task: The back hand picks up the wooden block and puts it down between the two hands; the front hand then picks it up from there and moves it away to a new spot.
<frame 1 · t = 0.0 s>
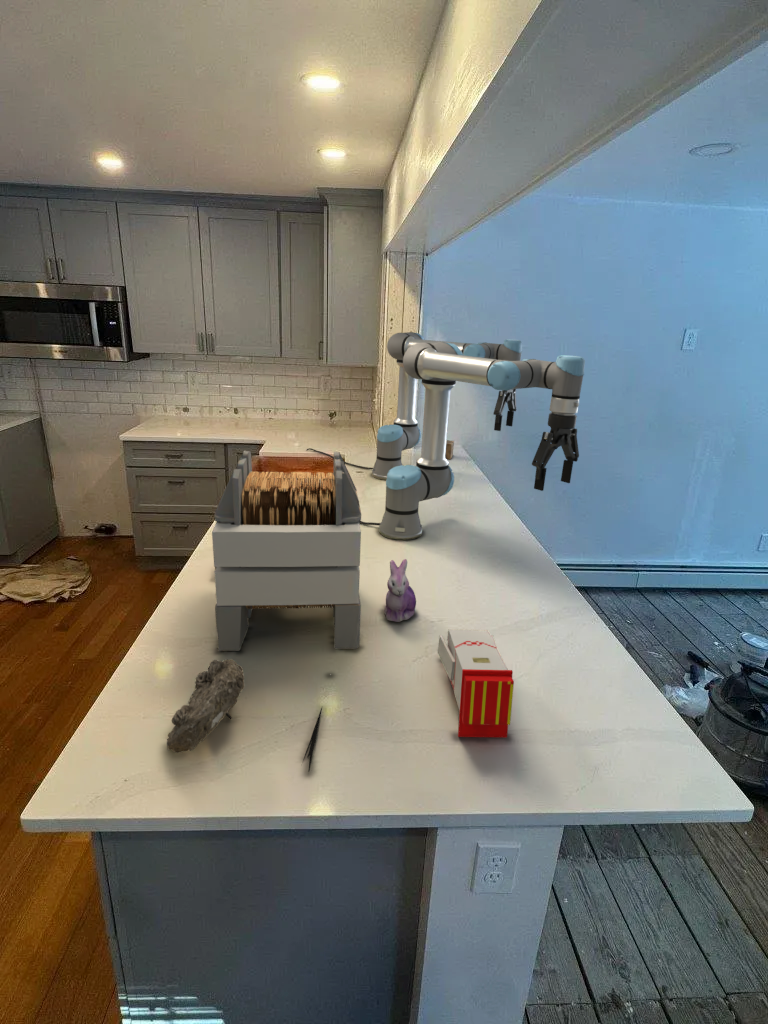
front hand: (552, 485, 166), 28 cm above the counter, tool pointing down, fingers open, 13 cm apart
back hand: (503, 428, 245), 28 cm above the counter, tool pointing down, fingers open, 13 cm apart
figurine character: (232, 569, 168), on the counter
toy: (469, 691, 119), on the counter
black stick: (319, 719, 109), on the counter
figurine: (399, 614, 147), on the counter
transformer: (292, 614, 145), on the counter
block: (444, 457, 308), on the counter
fossil: (212, 717, 108), on the counter
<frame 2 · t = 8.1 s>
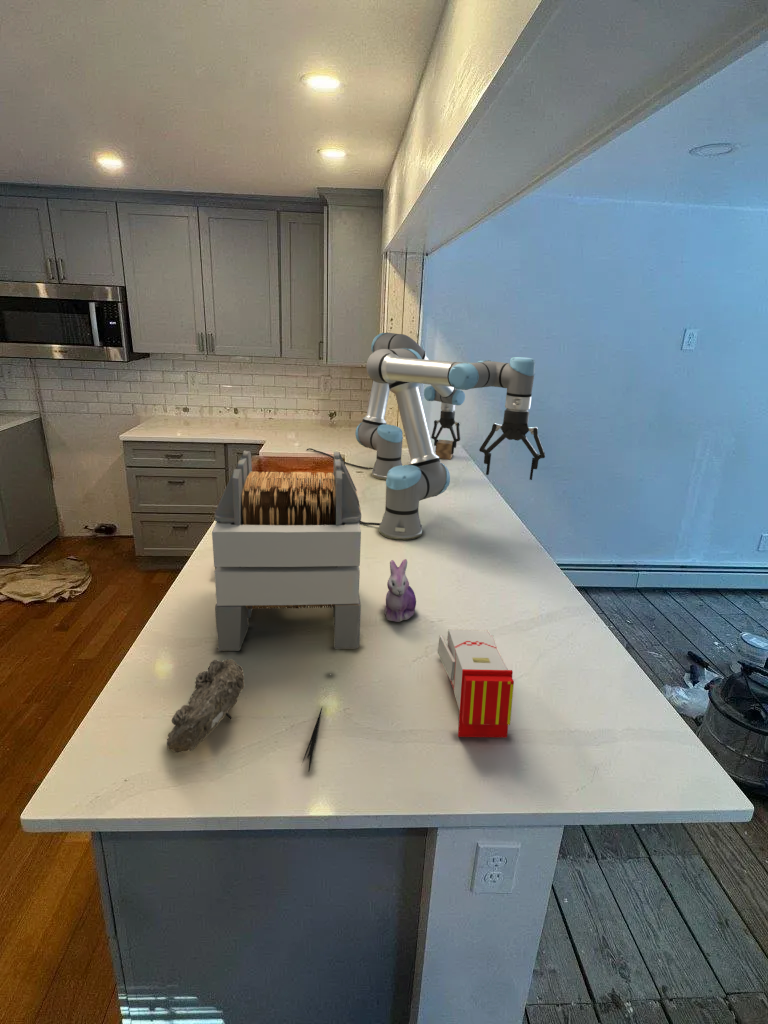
front hand: (509, 476, 181), 26 cm above the counter, tool pointing down, fingers open, 13 cm apart
back hand: (444, 452, 307), 2 cm above the counter, tool pointing down, fingers closed on block, 8 cm apart
block: (444, 457, 308), on the counter, touching back hand
everything else where it was.
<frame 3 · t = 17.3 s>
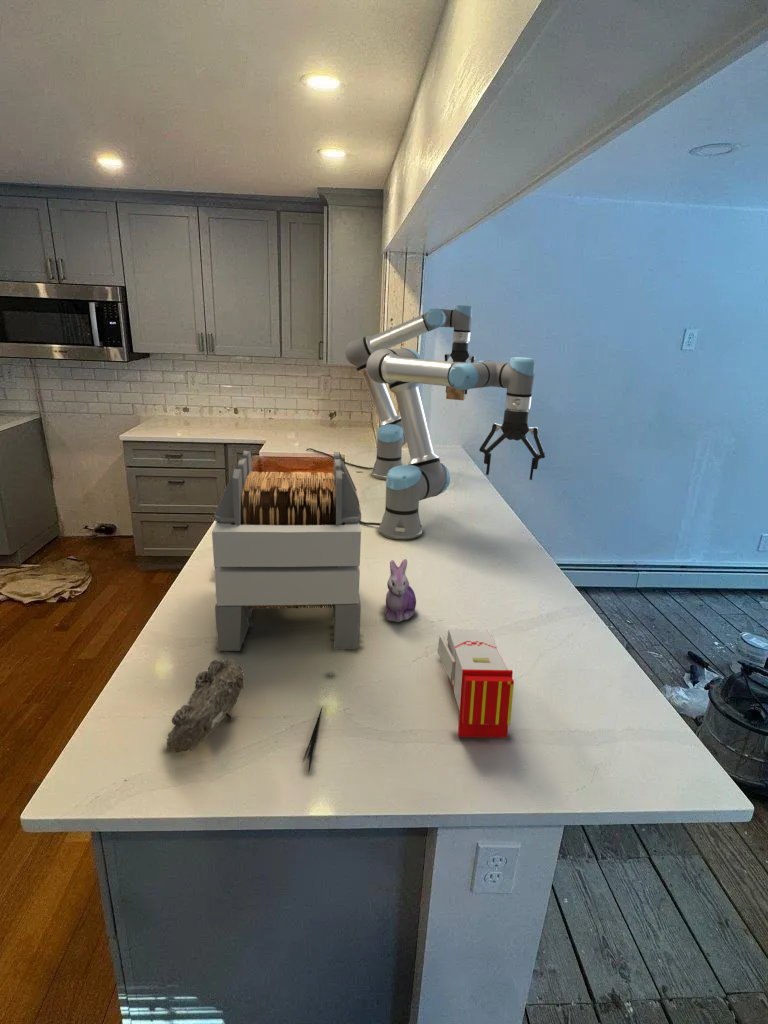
front hand: (509, 476, 181), 26 cm above the counter, tool pointing down, fingers open, 13 cm apart
back hand: (456, 393, 262), 39 cm above the counter, tool pointing down, fingers closed on block, 8 cm apart
block: (455, 398, 263), point 37 cm above the counter, touching back hand
everything else where it was.
when the back hand's fingers open (4 cm above the counter, at t = 26.8 s): block drops 2 cm, on the counter.
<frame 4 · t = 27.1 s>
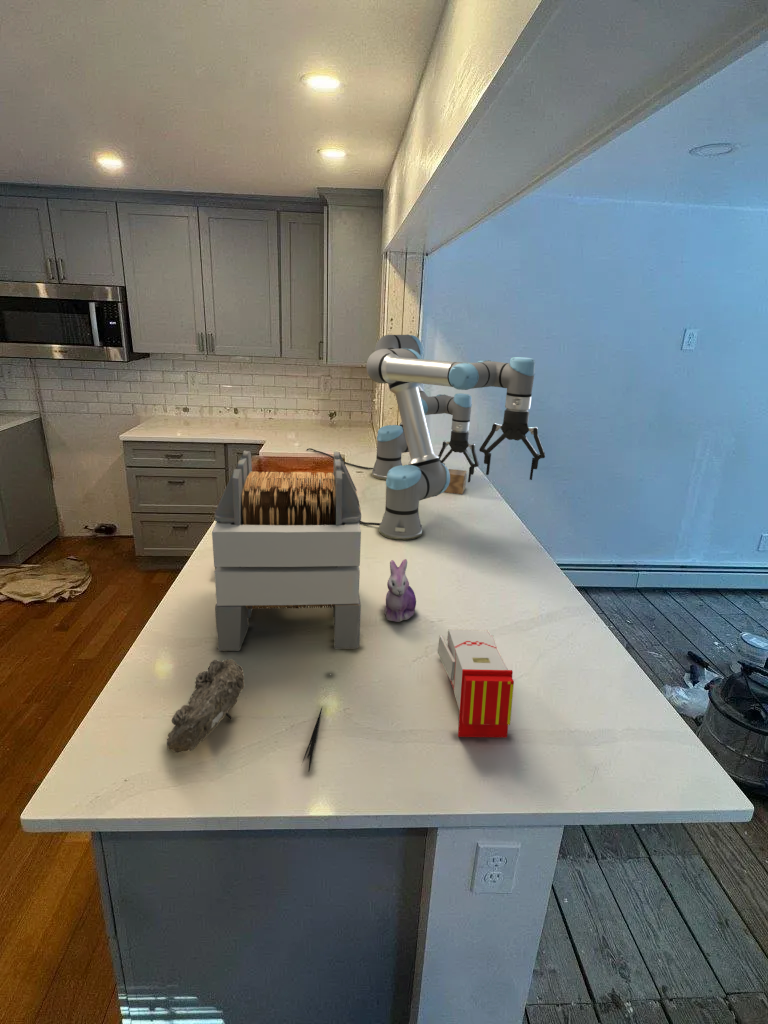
front hand: (509, 476, 181), 26 cm above the counter, tool pointing down, fingers open, 13 cm apart
back hand: (455, 480, 249), 5 cm above the counter, tool pointing down, fingers open, 11 cm apart
block: (454, 490, 251), on the counter
everything else where it was.
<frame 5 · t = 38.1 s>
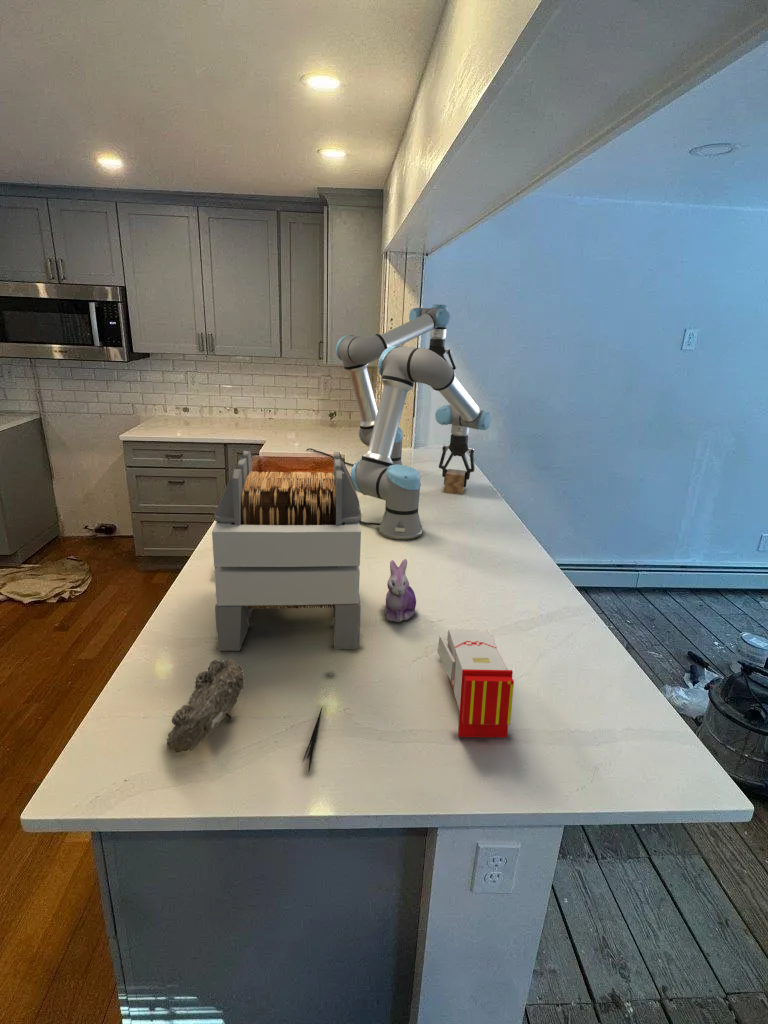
front hand: (455, 485, 250), 2 cm above the counter, tool pointing down, fingers closed on block, 8 cm apart
back hand: (434, 383, 281), 41 cm above the counter, tool pointing down, fingers open, 13 cm apart
block: (454, 490, 251), on the counter, touching front hand
everything else where it was.
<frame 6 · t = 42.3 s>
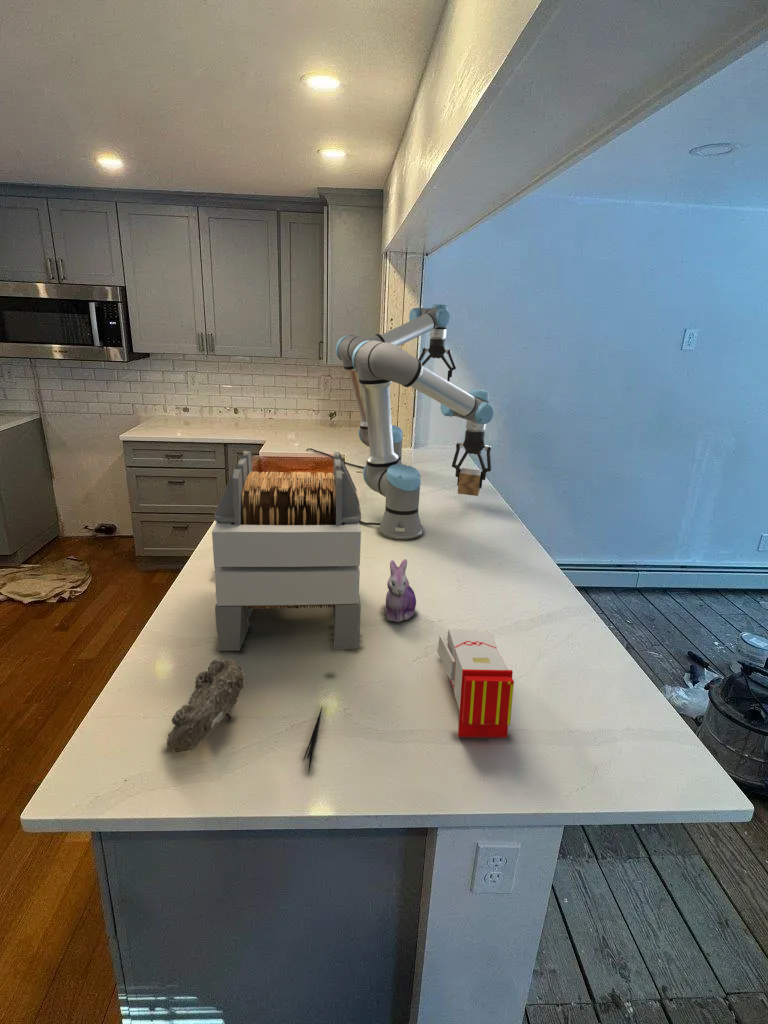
front hand: (469, 486, 227), 9 cm above the counter, tool pointing down, fingers closed on block, 8 cm apart
back hand: (434, 383, 281), 41 cm above the counter, tool pointing down, fingers open, 13 cm apart
block: (468, 491, 228), point 7 cm above the counter, touching front hand
everything else where it was.
when the front hand's fingers open (4 cm above the counter, at t = 46.7 s): block drops 2 cm, on the counter.
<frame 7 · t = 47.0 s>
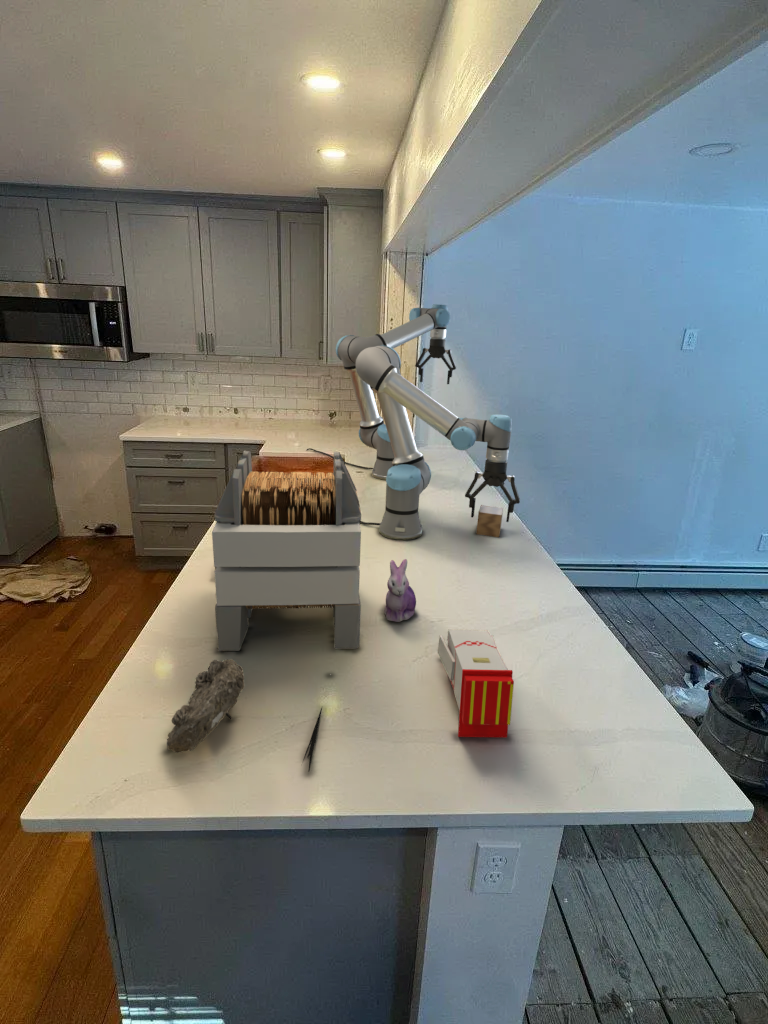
front hand: (489, 518, 204), 5 cm above the counter, tool pointing down, fingers open, 12 cm apart
back hand: (434, 383, 281), 41 cm above the counter, tool pointing down, fingers open, 13 cm apart
block: (488, 531, 206), on the counter
everything else where it was.
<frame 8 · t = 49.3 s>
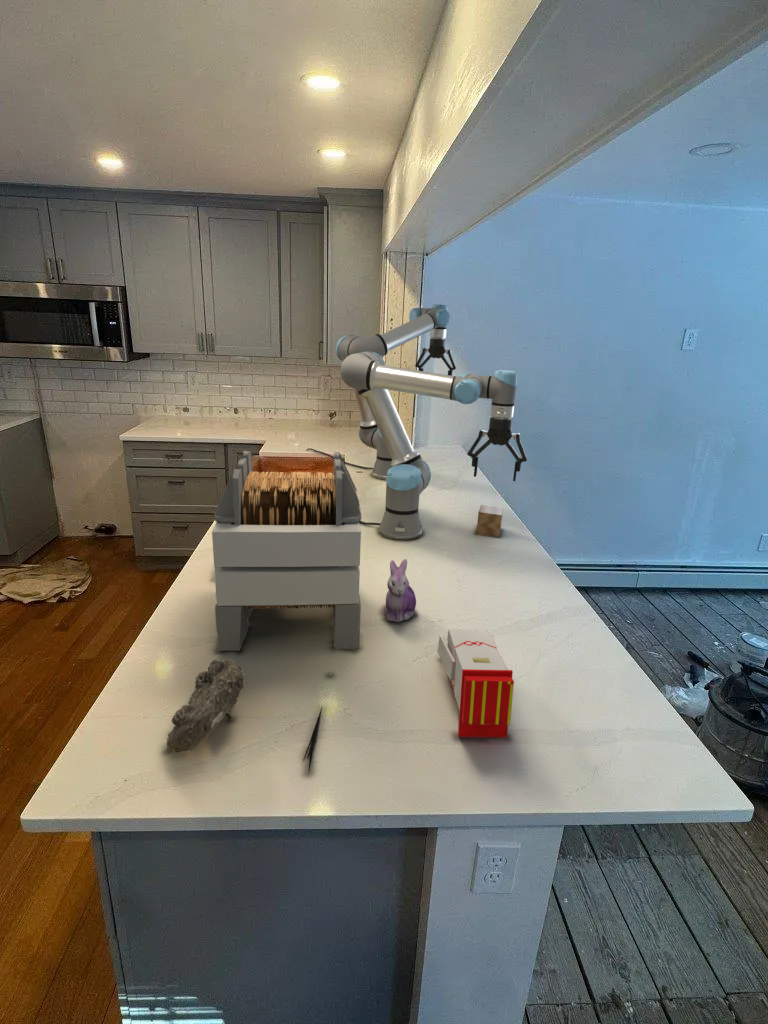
front hand: (494, 478, 199), 20 cm above the counter, tool pointing down, fingers open, 13 cm apart
back hand: (434, 383, 281), 41 cm above the counter, tool pointing down, fingers open, 13 cm apart
nothing on the counter moved.
at the end: block inside the target area (0.1 cm from its centre), on the counter; block tilted 0°; the two hands never held the block at the same time; the front hand is holding nothing; the back hand is holding nothing; block at rest at the end (0.0 cm/s) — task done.
